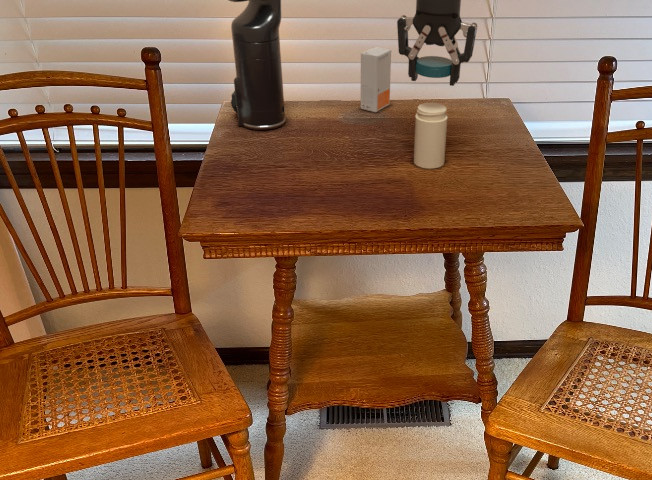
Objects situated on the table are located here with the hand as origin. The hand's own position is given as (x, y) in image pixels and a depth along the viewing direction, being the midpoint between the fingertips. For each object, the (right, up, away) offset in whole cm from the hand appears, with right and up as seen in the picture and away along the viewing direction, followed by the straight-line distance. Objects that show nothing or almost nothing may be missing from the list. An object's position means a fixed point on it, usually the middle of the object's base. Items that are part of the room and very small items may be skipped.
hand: (433, 81), depth 136 cm
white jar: (0, -12, +10) cm, 15 cm away
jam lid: (0, +2, -2) cm, 3 cm away
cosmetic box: (-11, +6, +32) cm, 34 cm away
